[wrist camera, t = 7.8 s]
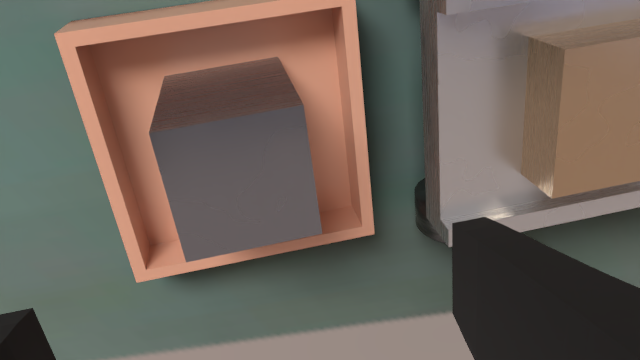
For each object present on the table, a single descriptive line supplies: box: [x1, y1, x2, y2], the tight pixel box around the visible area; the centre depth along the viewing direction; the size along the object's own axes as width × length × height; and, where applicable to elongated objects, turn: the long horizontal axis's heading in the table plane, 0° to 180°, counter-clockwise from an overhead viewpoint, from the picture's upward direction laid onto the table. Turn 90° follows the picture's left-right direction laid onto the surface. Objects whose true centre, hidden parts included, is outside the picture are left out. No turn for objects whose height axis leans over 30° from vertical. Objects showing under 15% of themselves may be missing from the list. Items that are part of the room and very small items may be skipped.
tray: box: [54, 0, 375, 282], centre depth 17 cm, size 8×8×2 cm
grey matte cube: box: [149, 57, 322, 262], centre depth 15 cm, size 4×4×5 cm
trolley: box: [415, 0, 640, 247], centre depth 17 cm, size 12×10×6 cm
